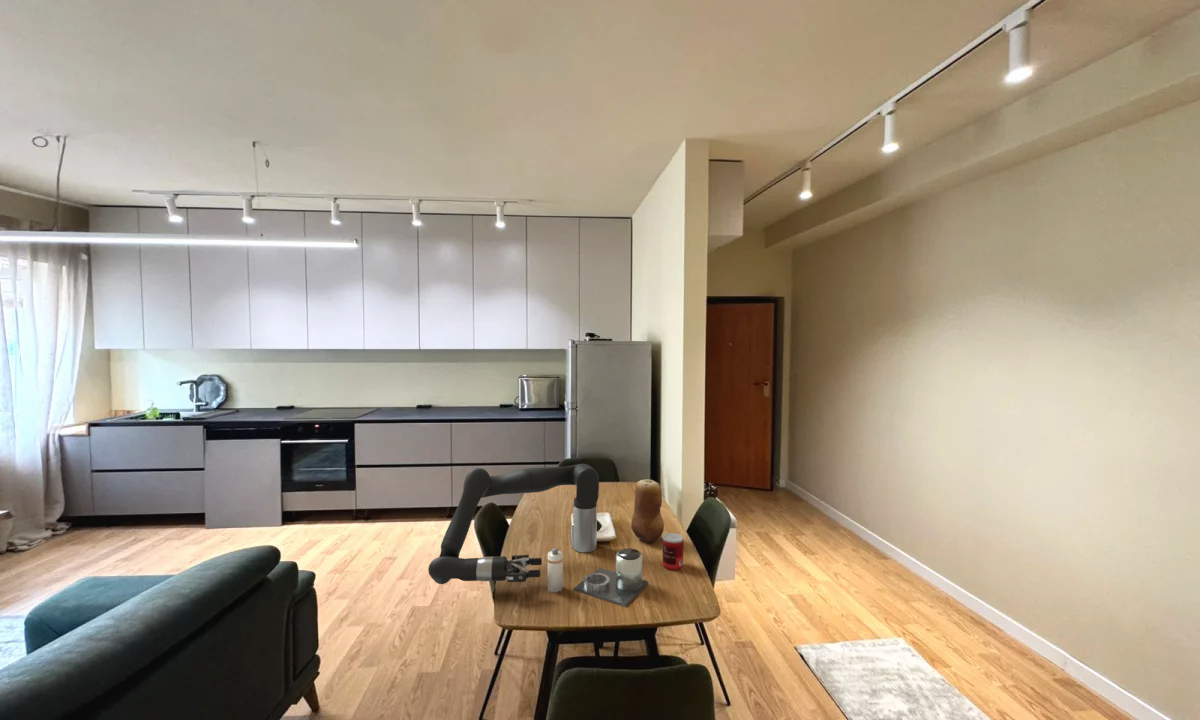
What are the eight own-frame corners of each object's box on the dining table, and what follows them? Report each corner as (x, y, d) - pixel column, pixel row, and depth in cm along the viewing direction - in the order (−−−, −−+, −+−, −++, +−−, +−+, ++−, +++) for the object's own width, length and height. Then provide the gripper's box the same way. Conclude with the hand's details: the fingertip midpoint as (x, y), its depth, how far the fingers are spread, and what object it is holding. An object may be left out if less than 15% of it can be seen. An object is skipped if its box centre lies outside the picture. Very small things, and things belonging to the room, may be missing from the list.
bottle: (544, 589, 164) (544, 550, 164) (553, 583, 169) (553, 544, 168) (556, 594, 162) (556, 554, 161) (565, 587, 166) (566, 548, 166)
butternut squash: (668, 538, 207) (669, 479, 206) (655, 549, 196) (656, 488, 195) (639, 531, 214) (639, 474, 213) (624, 542, 203) (625, 482, 202)
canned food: (680, 561, 186) (681, 532, 186) (685, 571, 178) (685, 541, 178) (660, 561, 186) (661, 532, 186) (664, 571, 178) (664, 541, 178)
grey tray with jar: (574, 590, 164) (574, 556, 164) (599, 569, 179) (600, 538, 178) (625, 606, 154) (626, 570, 154) (648, 583, 169) (648, 550, 168)
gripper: (488, 567, 156) (540, 566, 157) (494, 548, 170) (541, 547, 172) (488, 590, 157) (540, 589, 158) (495, 569, 171) (542, 568, 172)
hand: (541, 567), depth 165 cm, fingers open, 8 cm apart
